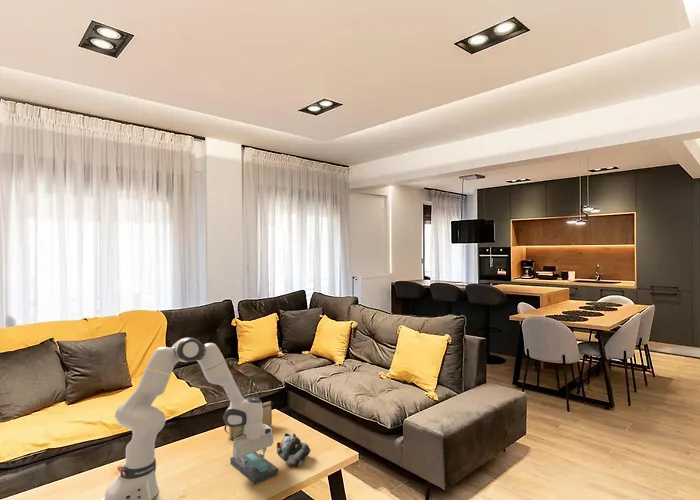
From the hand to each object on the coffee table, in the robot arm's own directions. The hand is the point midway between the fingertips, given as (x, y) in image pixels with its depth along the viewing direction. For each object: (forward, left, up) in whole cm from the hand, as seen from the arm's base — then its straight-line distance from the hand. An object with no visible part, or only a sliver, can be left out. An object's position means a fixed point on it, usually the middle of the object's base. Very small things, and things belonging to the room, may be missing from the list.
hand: (253, 460), depth 194 cm
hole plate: (0, 0, -4) cm, 4 cm away
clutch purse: (+18, +37, -4) cm, 42 cm away
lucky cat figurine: (+18, -7, -4) cm, 20 cm away
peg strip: (0, 0, -4) cm, 4 cm away
